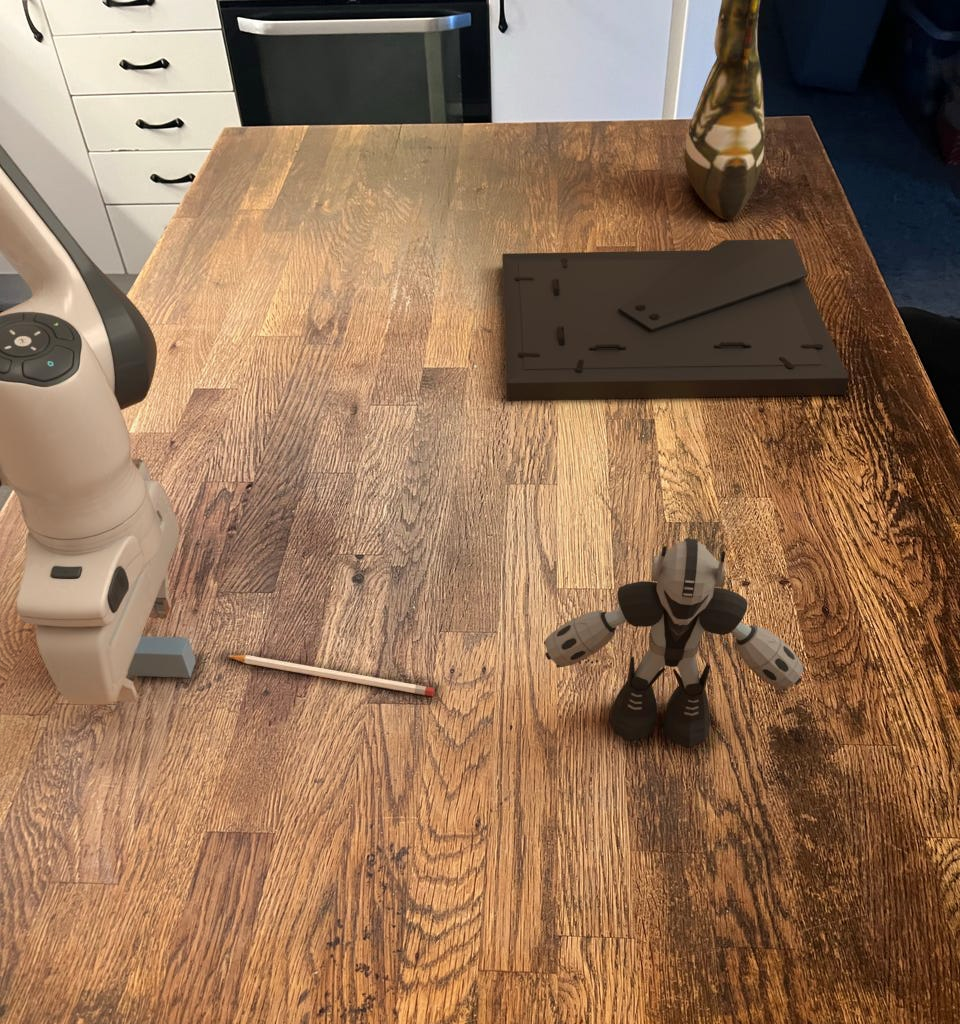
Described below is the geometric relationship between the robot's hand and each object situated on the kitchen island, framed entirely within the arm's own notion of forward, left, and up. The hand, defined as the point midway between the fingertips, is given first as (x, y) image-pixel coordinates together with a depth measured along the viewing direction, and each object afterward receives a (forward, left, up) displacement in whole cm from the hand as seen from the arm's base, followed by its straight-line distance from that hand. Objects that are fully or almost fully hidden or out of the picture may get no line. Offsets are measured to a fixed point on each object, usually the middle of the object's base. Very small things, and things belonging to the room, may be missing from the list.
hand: (145, 652), depth 85 cm
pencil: (+16, 0, -2) cm, 16 cm away
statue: (+59, +95, -2) cm, 112 cm away
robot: (+44, -4, -2) cm, 44 cm away
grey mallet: (-1, 0, -2) cm, 2 cm away
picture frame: (+48, +58, -2) cm, 75 cm away
